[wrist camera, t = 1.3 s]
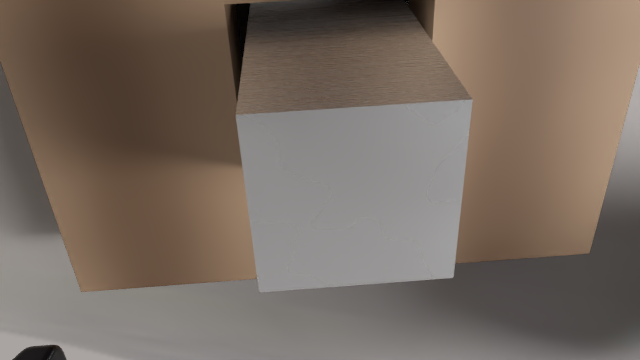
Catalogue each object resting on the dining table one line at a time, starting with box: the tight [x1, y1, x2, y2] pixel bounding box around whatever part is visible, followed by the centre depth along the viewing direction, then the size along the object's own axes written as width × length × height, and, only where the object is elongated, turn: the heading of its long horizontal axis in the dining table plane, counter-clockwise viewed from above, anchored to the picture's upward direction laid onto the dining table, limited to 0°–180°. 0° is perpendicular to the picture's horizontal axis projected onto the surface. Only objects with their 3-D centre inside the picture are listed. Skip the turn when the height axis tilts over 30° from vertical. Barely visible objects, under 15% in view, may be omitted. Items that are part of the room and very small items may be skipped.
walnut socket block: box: [0, 0, 640, 292], centre depth 16 cm, size 16×12×3 cm
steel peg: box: [236, 0, 473, 293], centre depth 14 cm, size 4×4×8 cm
